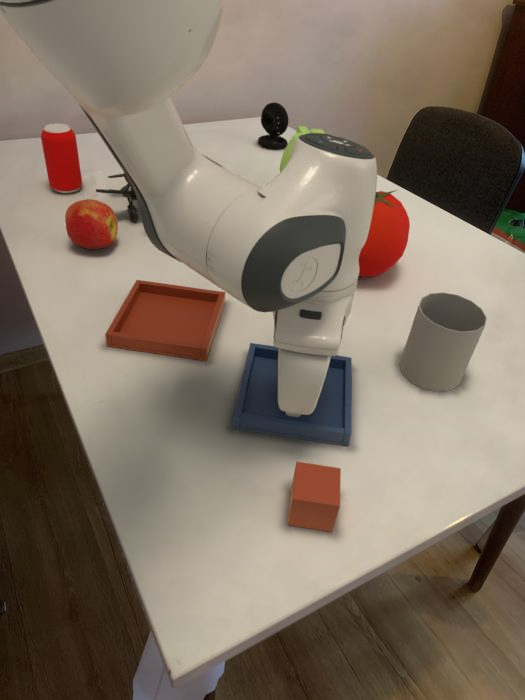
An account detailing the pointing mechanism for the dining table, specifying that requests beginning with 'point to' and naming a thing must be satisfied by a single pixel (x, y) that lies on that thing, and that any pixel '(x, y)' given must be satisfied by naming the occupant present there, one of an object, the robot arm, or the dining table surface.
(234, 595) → the dining table surface
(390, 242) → the tomato
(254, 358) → the blue tray
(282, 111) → the webcam
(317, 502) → the rust block
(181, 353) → the rust tray
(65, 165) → the beverage can
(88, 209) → the apple
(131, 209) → the airplane toy
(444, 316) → the cup
